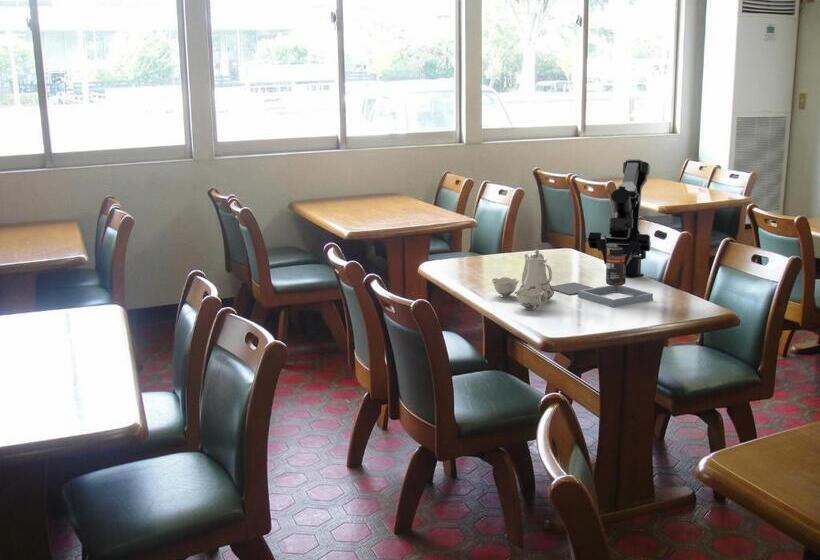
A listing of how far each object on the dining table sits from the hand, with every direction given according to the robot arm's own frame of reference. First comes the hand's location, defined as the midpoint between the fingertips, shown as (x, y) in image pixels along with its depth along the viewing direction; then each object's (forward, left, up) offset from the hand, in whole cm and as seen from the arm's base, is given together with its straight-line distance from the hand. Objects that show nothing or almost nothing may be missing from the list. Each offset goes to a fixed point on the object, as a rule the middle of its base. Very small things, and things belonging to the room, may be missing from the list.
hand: (615, 264), depth 274 cm
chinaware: (+24, -13, -12) cm, 29 cm away
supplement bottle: (-1, -1, -7) cm, 7 cm away
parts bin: (-1, -1, -11) cm, 11 cm away
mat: (+2, -18, -11) cm, 21 cm away
